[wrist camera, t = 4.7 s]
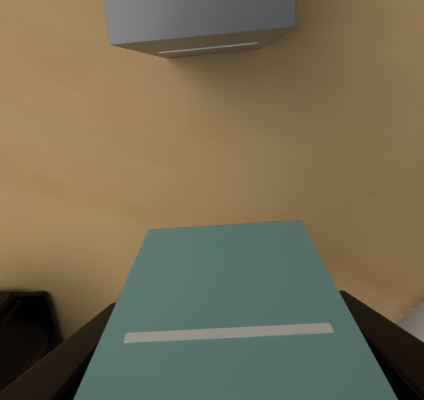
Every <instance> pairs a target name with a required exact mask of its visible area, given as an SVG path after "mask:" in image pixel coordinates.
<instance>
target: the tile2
mask: <svg viewBox="0 0 424 400" xmlns="http://www.w3.org/2000/svg"><path fill="white" fill-rule="evenodd" d="M103 4H104V10H105V16H106V22H107V27H108V33H109V39H110V44H111V45H114V46H118V47H122V48H126V49H130V50H134V51H139V52H143V53H147V54H151V55H155V56H159V57H163V58H171V57H181V56H192V55H202V54H212V53H223V52H233V51H243V50H253V49H259V48H260V47H262V46H264V45H265V44H267V43H269V42H270V41H272V40H274V39H275V38H277V37H279V36H280V35H282V34H284V33H285V32H287V31H289V30H290V29H292V28H294V27H295V26H296V0H103Z"/></svg>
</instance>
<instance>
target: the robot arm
mask: <svg viewBox="0 0 424 400" xmlns="http://www.w3.org/2000/svg"><path fill="white" fill-rule="evenodd" d="M339 292H340V294H341V296H342V298H343V300H344V302H345V304H346V305H347V307H348V309H349V311H350V313H351V315H352V316H353V318H354V320H355V322H356V324H357V326H358V327H359V329H360V331H361V333H362V335H363V337H364V338H365V340H366V342H367V344H368V346H369V348H370V349H371V351H372V353H373V355H374V357H375V359H376V360H377V362H378V364H379V366H380V368H381V370H382V371H383V373H384V375H385V377H386V379H387V381H388V382H389V384H390V386H391V388H392V390H393V392H394V393H395V395H396V397H397V399H398V400H424V342H422V341H421V340H419V339H418V338H416V337H415V336H413V335H412V334H410V333H408V332H407V331H405V330H404V329H402V328H401V327H399V326H398V325H396V324H395V323H393V322H392V321H390V320H388V319H387V318H385V317H384V316H382V315H381V314H379V313H378V312H376V311H375V310H373V309H372V308H370V307H368V306H367V305H365V304H364V303H362V302H361V301H359V300H358V299H356V298H355V297H353V296H352V295H350V294H349V293H347V292H345V291H343V290H340V291H339ZM40 298H41V299H43V301H42V300H40ZM116 303H117V302H114V303H112V304H110V305H109V306H108V307H107V308H105V309H104V310H103V311H102V312H100V313H99V314H98V315H97V316H95V317H94V318H93V319H92V320H90V321H89V322H88V323H87V324H85V325H84V326H83V327H82V328H80V329H79V330H78V331H77V332H75V333H74V334H73V335H72V336H70V337H69V338H68V339H67V340H65V341H64V342H63V339H62V336H61V333H60V330H59V326H58V323H57V320H56V316H55V313H54V310H53V307H52V303H51V300H50V297H49V295H48V294H47V293H45V292H29V293H0V400H74V397H75V395H76V393H77V391H78V388H79V386H80V384H81V382H82V379H83V377H84V375H85V373H86V370H87V368H88V366H89V363H90V361H91V359H92V357H93V354H94V352H95V350H96V348H97V345H98V343H99V341H100V339H101V336H102V334H103V332H104V330H105V327H106V325H107V323H108V321H109V318H110V316H111V314H112V312H113V309H114V307H115V305H116Z"/></svg>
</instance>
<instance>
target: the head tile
mask: <svg viewBox="0 0 424 400" xmlns="http://www.w3.org/2000/svg"><path fill="white" fill-rule="evenodd" d="M74 400H398V399H397V397H396V395H395V393H394V392H393V390H392V388H391V386H390V384H389V382H388V381H387V379H386V377H385V375H384V373H383V371H382V370H381V368H380V366H379V364H378V362H377V360H376V359H375V357H374V355H373V353H372V351H371V349H370V348H369V346H368V344H367V342H366V340H365V338H364V337H363V335H362V333H361V331H360V329H359V327H358V326H357V324H356V322H355V320H354V318H353V316H352V315H351V313H350V311H349V309H348V307H347V305H346V304H345V302H344V300H343V298H342V296H341V294H340V292H339V291H338V289H337V287H336V285H335V283H334V281H333V280H332V278H331V276H330V274H329V272H328V270H327V269H326V267H325V265H324V263H323V261H322V259H321V258H320V256H319V254H318V252H317V250H316V248H315V247H314V245H313V243H312V241H311V239H310V237H309V236H308V234H307V232H306V230H305V228H304V226H303V225H302V223H301V221H300V220H295V221H279V222H263V223H247V224H232V225H216V226H200V227H184V228H168V229H153V230H148V233H147V235H146V237H145V240H144V242H143V244H142V246H141V249H140V251H139V253H138V255H137V258H136V260H135V262H134V264H133V267H132V269H131V271H130V273H129V276H128V278H127V280H126V282H125V285H124V287H123V289H122V291H121V294H120V296H119V298H118V300H117V303H116V305H115V307H114V309H113V312H112V314H111V316H110V318H109V321H108V323H107V325H106V327H105V330H104V332H103V334H102V336H101V339H100V341H99V343H98V345H97V348H96V350H95V352H94V354H93V357H92V359H91V361H90V363H89V366H88V368H87V370H86V373H85V375H84V377H83V379H82V382H81V384H80V386H79V388H78V391H77V393H76V395H75V397H74Z"/></svg>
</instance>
